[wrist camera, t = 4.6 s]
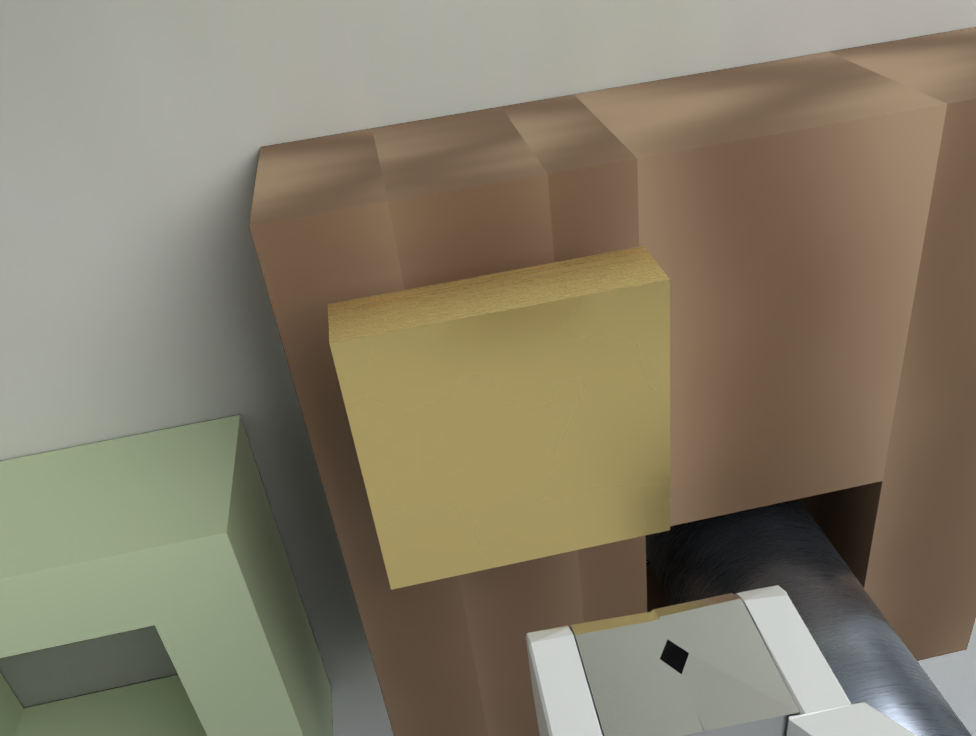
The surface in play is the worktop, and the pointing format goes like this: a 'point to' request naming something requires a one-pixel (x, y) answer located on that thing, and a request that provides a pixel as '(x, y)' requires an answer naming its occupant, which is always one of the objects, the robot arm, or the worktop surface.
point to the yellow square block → (510, 412)
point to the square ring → (158, 586)
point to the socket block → (675, 329)
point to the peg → (805, 603)
